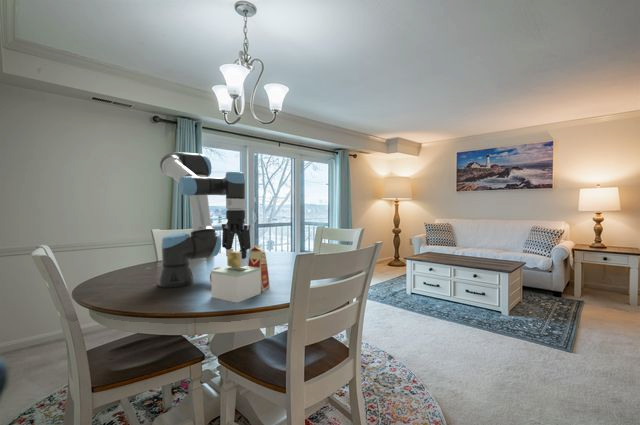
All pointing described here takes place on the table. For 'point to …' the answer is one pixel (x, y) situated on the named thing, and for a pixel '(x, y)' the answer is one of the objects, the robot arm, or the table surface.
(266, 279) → the milk carton
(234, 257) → the cardboard box
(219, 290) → the coin box
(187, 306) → the table surface
